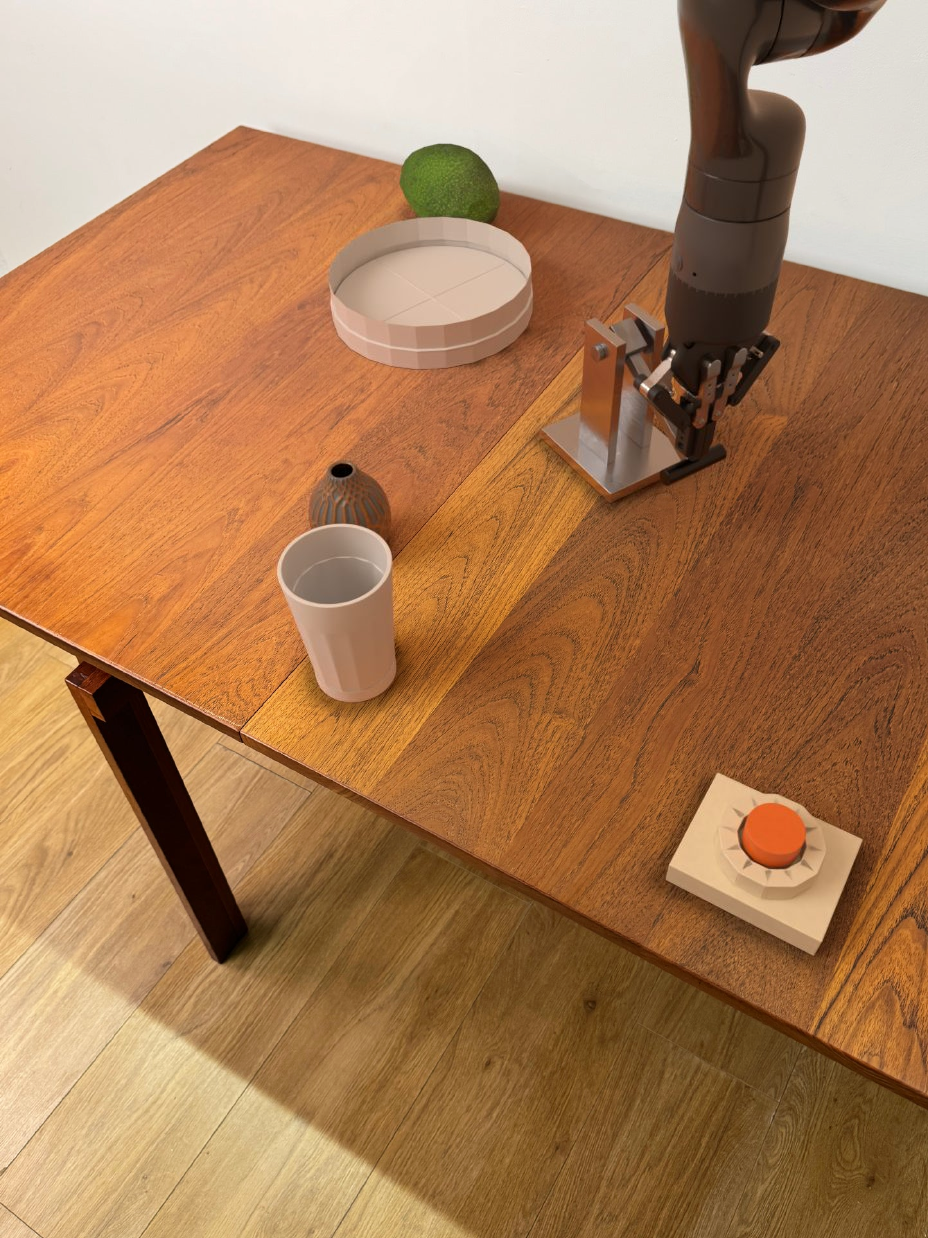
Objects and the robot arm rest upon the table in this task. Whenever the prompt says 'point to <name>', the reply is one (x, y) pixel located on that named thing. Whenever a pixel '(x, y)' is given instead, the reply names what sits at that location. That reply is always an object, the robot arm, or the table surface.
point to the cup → (343, 607)
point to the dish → (431, 292)
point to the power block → (763, 867)
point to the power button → (773, 835)
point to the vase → (350, 500)
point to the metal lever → (638, 366)
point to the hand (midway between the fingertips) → (692, 452)
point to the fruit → (450, 184)
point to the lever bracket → (614, 415)
